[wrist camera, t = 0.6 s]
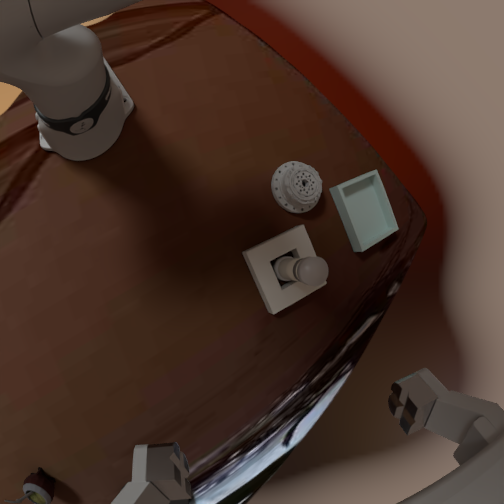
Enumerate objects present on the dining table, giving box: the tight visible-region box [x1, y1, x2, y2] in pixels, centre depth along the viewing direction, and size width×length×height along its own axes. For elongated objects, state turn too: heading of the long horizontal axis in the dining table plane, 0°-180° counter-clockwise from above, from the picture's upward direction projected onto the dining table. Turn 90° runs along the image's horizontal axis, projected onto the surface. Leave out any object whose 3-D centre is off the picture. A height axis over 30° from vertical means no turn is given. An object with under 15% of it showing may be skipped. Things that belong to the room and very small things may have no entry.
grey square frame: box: [242, 225, 327, 314], centre depth 55 cm, size 12×12×2 cm
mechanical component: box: [271, 161, 322, 213], centre depth 55 cm, size 10×4×10 cm
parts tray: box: [329, 170, 398, 252], centre depth 61 cm, size 14×12×3 cm
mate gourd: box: [5, 467, 55, 504], centre depth 31 cm, size 8×8×15 cm
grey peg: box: [272, 256, 328, 286], centre depth 50 cm, size 4×4×12 cm
